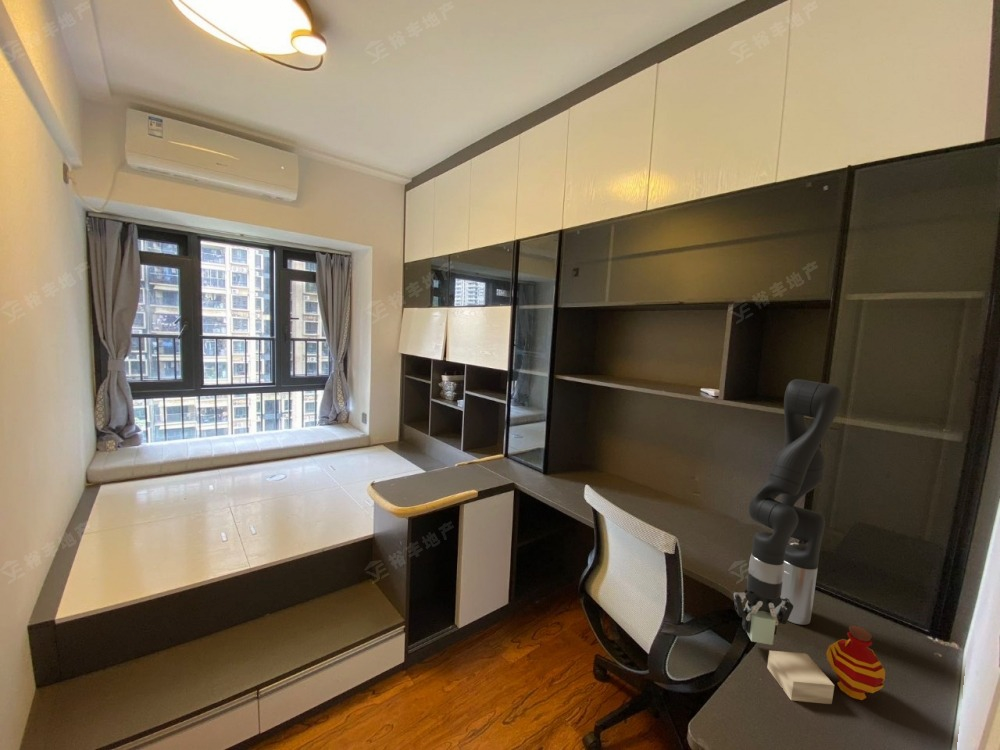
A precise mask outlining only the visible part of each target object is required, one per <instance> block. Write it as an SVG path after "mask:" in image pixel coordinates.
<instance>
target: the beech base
mask: <svg viewBox="0 0 1000 750" xmlns="http://www.w3.org/2000/svg"><path fill="white" fill-rule="evenodd" d="M766 666H767V667H766V668H767V669H768V671H769V673H770V674H771V675H772V677H773V678H774V679H775V680H776V681H777V683H778V684H779V686H780V687H781V688H783V689H782V690H783V691H784V693H785V694H786V695H787V697H788V698H789V699H790V700H791V701H794V702H795V701H796V702H797V701H798V702H804V703H815V704H825V705H832V704H833V699H834V698H833V697H834V691H835V684H834V683H833V682H832V681H831V680H830V678H829V677H828V676H827V675H826V674H825V673H824V672H823V670H821V668H820V667H819V666H818V665H817V663H815V662H814V660H813V659H812V658H811V657H810V656H809V654H808V653H803V652H790V651H781V650H780V651H779V650H768V657H767V665H766Z"/></svg>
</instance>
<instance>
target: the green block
mask: <svg viewBox="0 0 1000 750" xmlns="http://www.w3.org/2000/svg"><path fill="white" fill-rule="evenodd" d="M775 623H776V620H775V618H772V617H771V615H770V614H769V613H768V612H765V611H757V613H756V614H755V615H754V614H752V618H751V627H750V633H747V636H748V638H749V639H750V641H751V642H752V643H753V642H754V643H759V644H765V645H771V646H773V645H774V637H775V635H774V631H775Z"/></svg>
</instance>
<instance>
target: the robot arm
mask: <svg viewBox="0 0 1000 750" xmlns="http://www.w3.org/2000/svg"><path fill="white" fill-rule="evenodd" d="M842 397H843V395H842V390H841V388H840V386H838V385H835V384H830V383H824V382H819V381H811V380H807V379H800V378H796V379H793V380H790V382H789V383H788V384H787V385H786V389H785V392H784V398H783V411H784V412H783V413H784V414H783V415H784V431H785V432H784V433H785V434H784V446H783V448H782V449H781V450H780V451H779V452H778V454H777V455H776V456H775V459H774V460H773V464H772V466H771V469H770V471H769V474H768V477H767V479H766V480H765V482H764V483H763V484H762V486H761V487H760V488H759V490H758V491H757V492H756V493H755V494H754V496H753V497H752V498H751V500H750V502H749V505H748V514H749V516H750V518H751V519H752V520H754V521H755V522H757V523H759V524H761V525H763V526H766V527H768V528H770V529H772V530H773V532H768V531H756V532H755V533H754V535H753V537H752V546H751V547H752V548H751V554H750V558H749V563H748V570H747V580H746V588H745V590H744V591H743V592H738V591H737V590H733V591H732V598H733V602H734V603H733V604H734V610H735V611H736V613H737V615H738V617H740V618H742V621H741V626H742V628H743V630H744V631H745V632H746V633H750V627H751V618H752V614H754V615H755V614H756V613H757V611H765V612H768V613H769V614H770V615H771V617H772V618H775V620H776V623H775V631H774V636H776V635H777V630H778V625H779V624H782V625H786V624H787V623H788V622H790V623H793V624H796V625H802V626H803V625H809V624H810V623H811V618H812V612H813V605H814V599H815V590H816V584H817V583H816V582H817V576H818V568H819V560H820V551H821V546H822V542H823V539H824V538H823V537H824V532H825V529H826V525H825V524H826V520H825V516H824V515H823V514H822V513H820V512H818V511H817V512H816V511H814V510H811V509H807V508H804V507H800V506H799V507H798V506H796V505H795V504H796V503H797V502H798V501H799V500H800V499H801V497H803V496H805V495H806V494H808V493H809V492H811V491H812V490H814V489H815V488H817V487H818V486H819V485H820V484H821V482H822V481H823V479H824V474H825V467H826V466H825V465H826V464H825V462H826V458H825V454H824V453H823V450H822V449H821V447H820V445H821V444H822V442H823V440H824V439H825V436H826V435H827V433H828V431H829V429H830V427H831V425H832V424H833V422H834V420H835V419H836V415H837V414H838V412H839V409H840V407H841V404H842ZM805 417H809V418H813V421H812V423H811V425H810V426H809V427H807V424H806V419H805ZM778 496H780V501H778V500H775V499H777V497H778ZM791 538H792V539H795V540H799V541H802V542H805V543H801V544H791V543H790V544H789V541H790V540H791ZM745 599H746V600H747V601H746V602H745V604H744V605H745V607H743V604H742V603H744V601H745Z"/></svg>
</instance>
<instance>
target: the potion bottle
mask: <svg viewBox="0 0 1000 750" xmlns="http://www.w3.org/2000/svg"><path fill="white" fill-rule="evenodd" d="M848 630H849V631H847V632H846V634H847V635H846V636H847V637H848V639H844V638H842V639H839V640H837V641H835V642H834V643H832V644H830V645H829V646H828V648H827V650H826V659H827V662H828V664H829V667H830V669H831V670H833V672H834V673H835V675H836V677H837V678H838V680H839V681H838V682H837V683H836V684H837V686H838V687H839V689H840V691H842V692H843V693H845V695H847V696H848V697H850V698H853V699H856V700H861V701H863V700H865V699H866V698H867V696H866V694H868V693H870V694H874V693H876V692H878V691H880V690H882V689H883V687H884V686H885V683H884V682H885V681H886V670H885V668H884V666H883V665H882V663H881V661H880V659H879V658H878V656H877V655H876V654H875V652H874V651H873V649H871V648H869V647H871V646H872V645H873V642H872V640H871V639H872V638H873V635H872V634H871V632H869V631H868V630H866V629H864V628H862V627H860V626H857V625H856V626H855V625H850V626H848Z"/></svg>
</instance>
